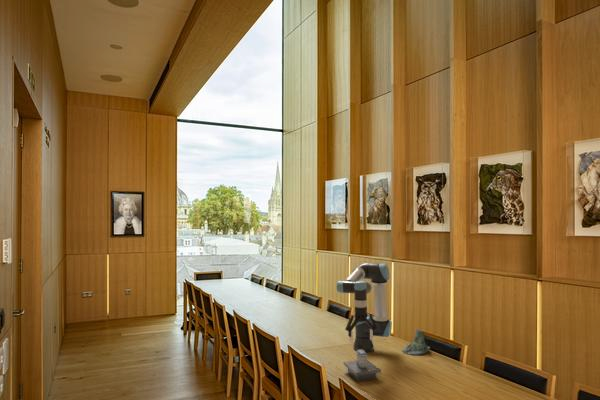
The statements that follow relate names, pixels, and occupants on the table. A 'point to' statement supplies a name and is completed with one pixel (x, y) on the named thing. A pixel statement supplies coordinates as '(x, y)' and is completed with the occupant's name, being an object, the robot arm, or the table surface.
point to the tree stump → (417, 345)
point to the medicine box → (362, 358)
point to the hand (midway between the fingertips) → (361, 341)
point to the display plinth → (363, 377)
